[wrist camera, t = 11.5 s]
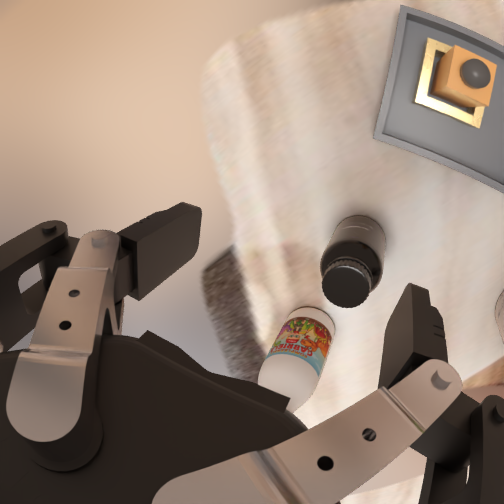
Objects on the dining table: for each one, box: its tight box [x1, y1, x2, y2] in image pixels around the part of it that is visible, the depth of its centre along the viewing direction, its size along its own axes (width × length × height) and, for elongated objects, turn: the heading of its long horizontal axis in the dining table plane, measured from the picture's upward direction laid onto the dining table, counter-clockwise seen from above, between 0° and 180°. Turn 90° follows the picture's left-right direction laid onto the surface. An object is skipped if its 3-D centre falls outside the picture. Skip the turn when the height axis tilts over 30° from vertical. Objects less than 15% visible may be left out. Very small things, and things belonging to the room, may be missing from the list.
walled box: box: [373, 5, 504, 193], centre depth 25 cm, size 18×16×4 cm
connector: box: [430, 45, 497, 108], centre depth 21 cm, size 4×4×12 cm
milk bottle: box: [258, 307, 335, 414], centre depth 39 cm, size 8×8×20 cm
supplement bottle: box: [320, 216, 385, 308], centre depth 34 cm, size 7×7×12 cm
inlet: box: [412, 38, 485, 129], centre depth 24 cm, size 7×7×4 cm
